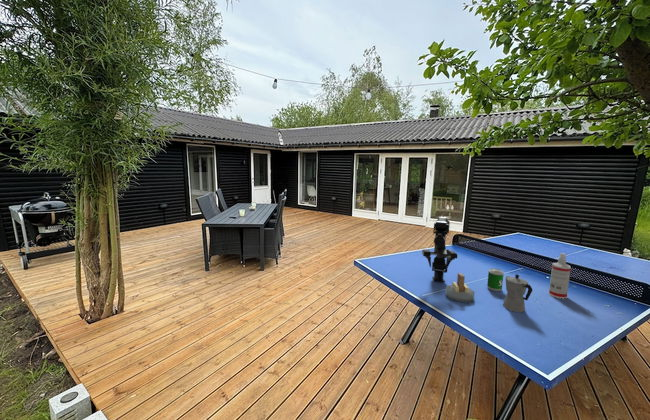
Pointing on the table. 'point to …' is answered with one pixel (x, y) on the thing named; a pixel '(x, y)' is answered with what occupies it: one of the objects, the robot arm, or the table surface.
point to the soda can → (495, 279)
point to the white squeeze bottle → (560, 278)
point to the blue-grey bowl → (459, 293)
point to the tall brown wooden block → (460, 282)
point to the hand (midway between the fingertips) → (438, 267)
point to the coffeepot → (516, 293)
